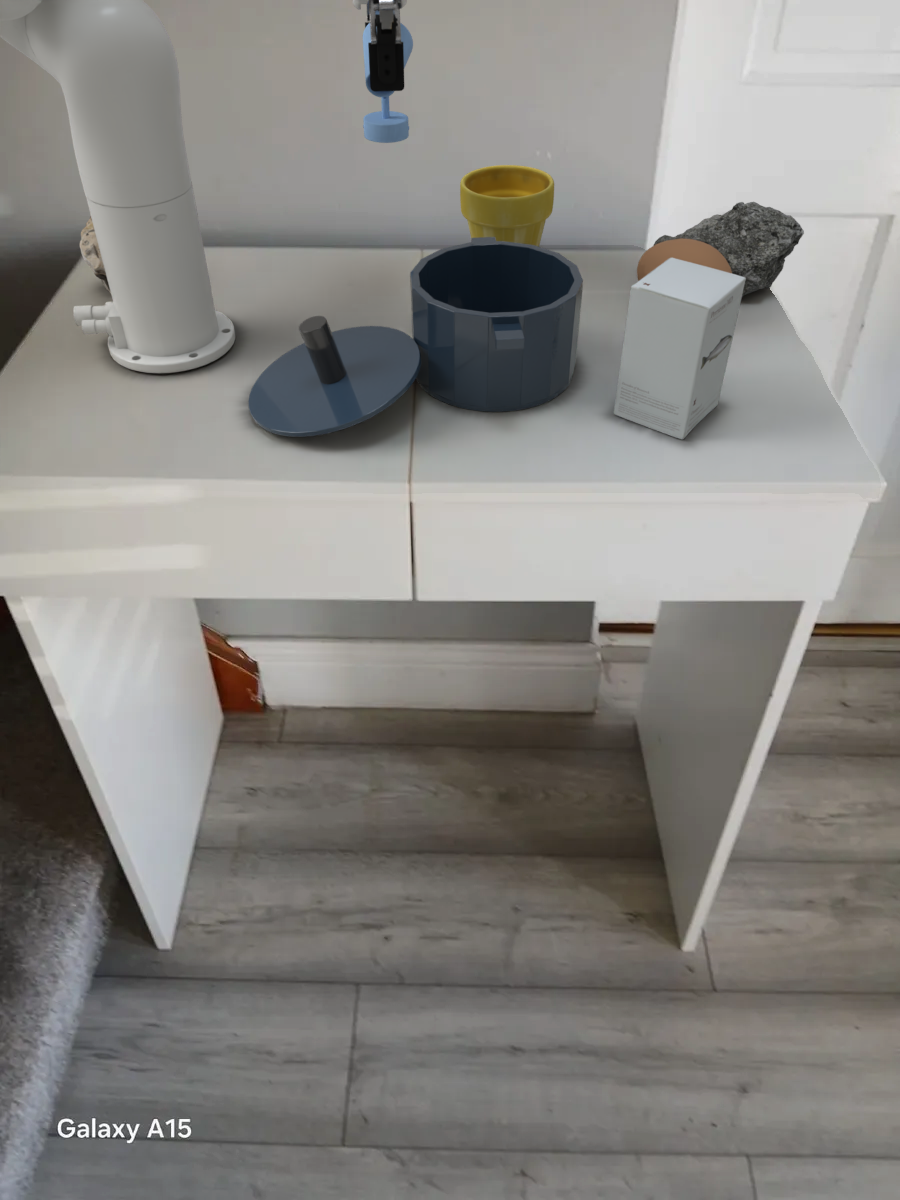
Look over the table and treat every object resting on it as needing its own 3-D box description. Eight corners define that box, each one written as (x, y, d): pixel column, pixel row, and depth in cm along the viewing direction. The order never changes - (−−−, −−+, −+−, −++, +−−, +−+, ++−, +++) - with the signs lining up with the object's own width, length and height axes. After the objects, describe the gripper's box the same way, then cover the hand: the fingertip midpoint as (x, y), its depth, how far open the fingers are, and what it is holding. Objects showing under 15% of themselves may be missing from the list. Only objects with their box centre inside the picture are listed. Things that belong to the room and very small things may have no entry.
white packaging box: (683, 442, 85) (709, 308, 76) (610, 415, 88) (627, 283, 80) (720, 406, 89) (749, 276, 81) (649, 381, 93) (669, 253, 84)
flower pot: (446, 256, 114) (446, 170, 107) (526, 242, 116) (531, 158, 110) (480, 292, 107) (481, 203, 100) (564, 277, 109) (571, 189, 103)
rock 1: (137, 242, 113) (64, 210, 105) (181, 224, 109) (109, 189, 101) (140, 315, 113) (67, 289, 104) (184, 299, 109) (112, 271, 100)
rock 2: (635, 256, 107) (663, 270, 116) (720, 329, 104) (742, 338, 112) (715, 152, 101) (738, 175, 110) (807, 226, 98) (823, 243, 107)
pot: (420, 432, 86) (417, 335, 80) (408, 322, 102) (405, 233, 95) (592, 423, 87) (603, 327, 81) (554, 315, 103) (561, 227, 96)
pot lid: (250, 462, 84) (218, 400, 80) (255, 365, 96) (228, 306, 91) (432, 410, 83) (411, 343, 78) (414, 317, 94) (395, 255, 90)
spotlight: (368, 122, 100) (357, 144, 95) (363, 11, 93) (350, 29, 88) (415, 124, 100) (406, 146, 95) (413, 13, 93) (404, 31, 88)
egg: (757, 248, 98) (668, 222, 104) (716, 260, 93) (626, 232, 99) (738, 321, 102) (654, 292, 108) (699, 336, 98) (613, 305, 104)
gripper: (331, -162, 88) (344, 56, 100) (334, -140, 75) (349, 106, 87) (412, -162, 89) (416, 54, 101) (429, -140, 76) (431, 104, 88)
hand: (385, 77), depth 94 cm, fingers closed on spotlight, 7 cm apart
